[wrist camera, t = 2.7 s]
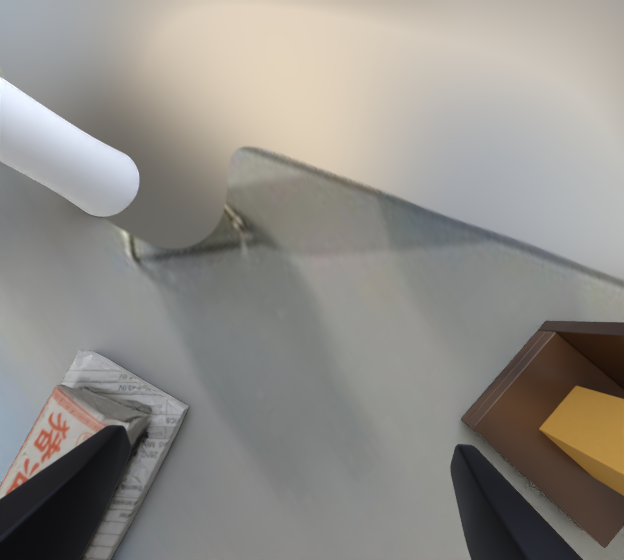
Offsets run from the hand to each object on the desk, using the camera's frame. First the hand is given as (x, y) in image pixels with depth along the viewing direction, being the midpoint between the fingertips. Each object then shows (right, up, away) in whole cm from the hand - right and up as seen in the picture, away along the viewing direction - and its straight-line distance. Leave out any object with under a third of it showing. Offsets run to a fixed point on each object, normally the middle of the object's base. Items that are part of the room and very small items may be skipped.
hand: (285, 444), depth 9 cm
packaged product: (-17, -11, +17) cm, 26 cm away
